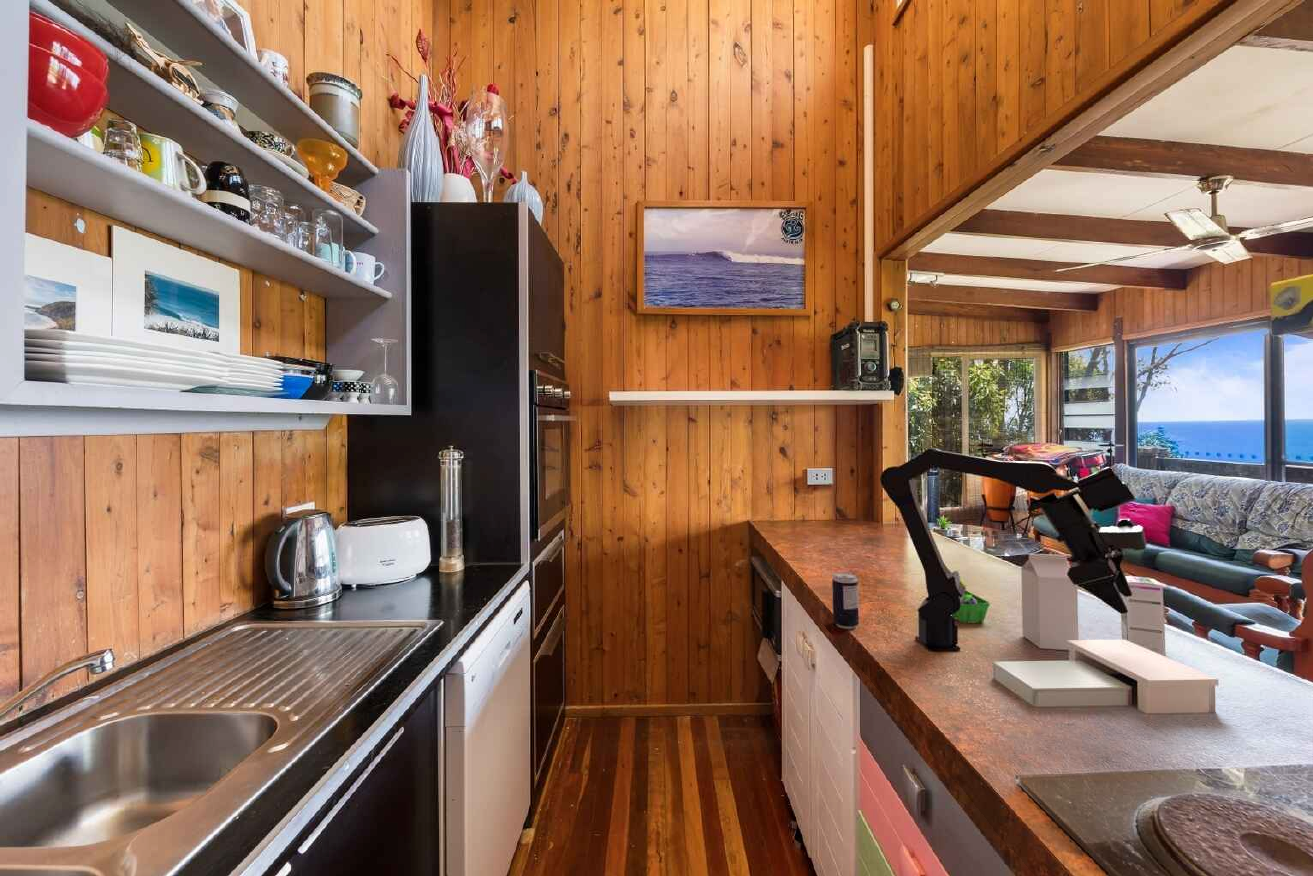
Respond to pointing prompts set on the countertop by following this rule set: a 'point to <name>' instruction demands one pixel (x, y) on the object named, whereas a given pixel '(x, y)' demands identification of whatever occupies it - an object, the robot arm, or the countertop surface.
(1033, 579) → the milk carton
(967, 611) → the fruit basket
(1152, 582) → the syrup box
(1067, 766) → the countertop surface
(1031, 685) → the cream rectangular slab
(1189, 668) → the overhang
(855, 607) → the beverage can
